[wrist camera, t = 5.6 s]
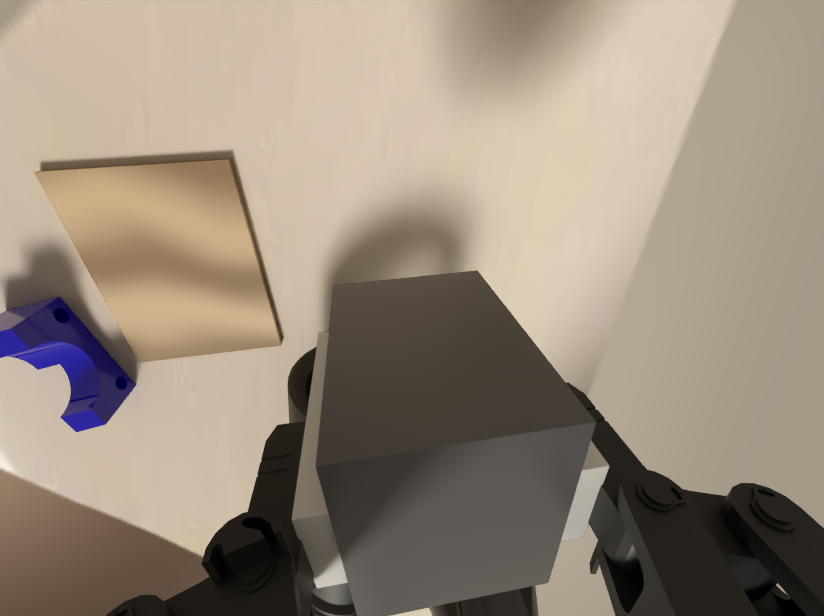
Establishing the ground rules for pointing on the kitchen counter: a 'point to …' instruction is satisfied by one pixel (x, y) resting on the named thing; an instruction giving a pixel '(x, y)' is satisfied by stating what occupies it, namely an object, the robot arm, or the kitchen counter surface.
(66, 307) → the cable holder
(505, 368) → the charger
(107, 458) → the kitchen counter surface
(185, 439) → the kitchen counter surface
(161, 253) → the mat
